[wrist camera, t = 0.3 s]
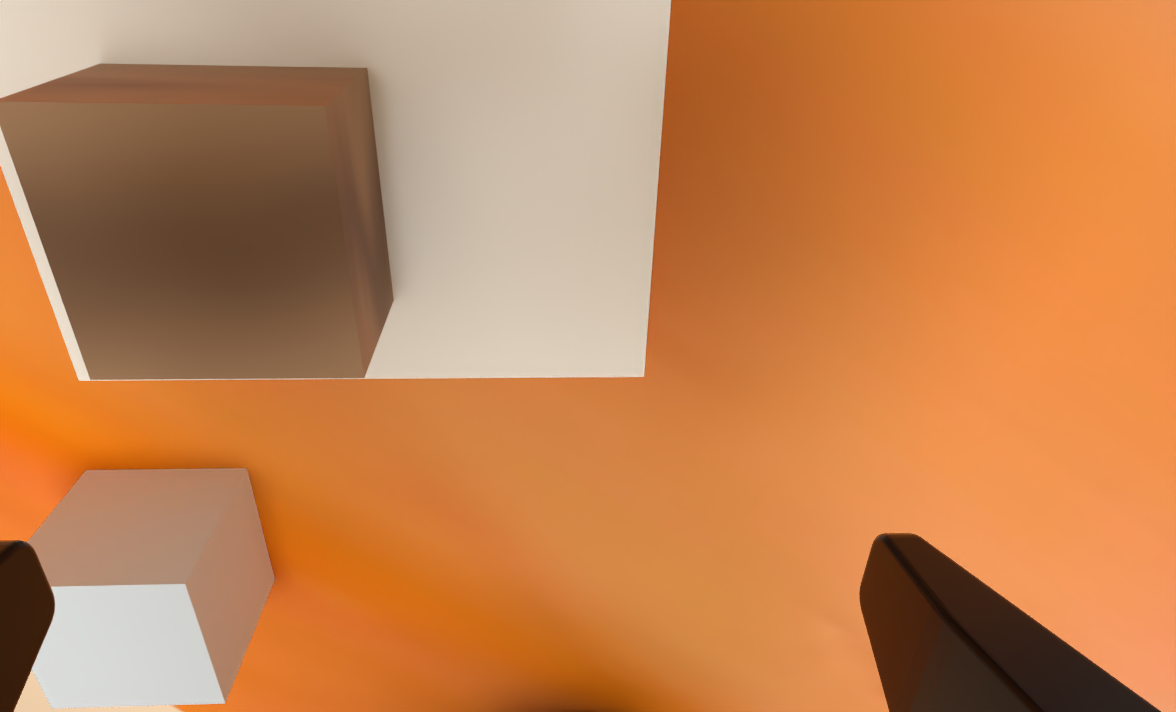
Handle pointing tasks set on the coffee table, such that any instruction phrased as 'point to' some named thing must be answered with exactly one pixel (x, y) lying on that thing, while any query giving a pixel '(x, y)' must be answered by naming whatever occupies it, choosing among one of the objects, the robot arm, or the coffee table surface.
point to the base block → (209, 217)
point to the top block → (151, 587)
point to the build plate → (441, 157)
